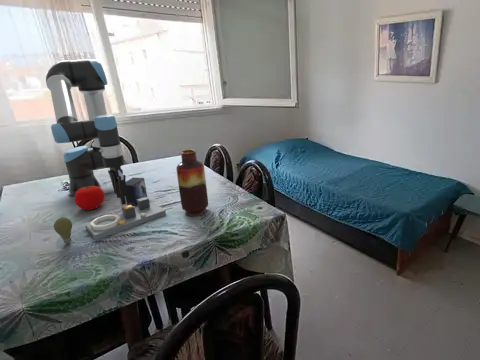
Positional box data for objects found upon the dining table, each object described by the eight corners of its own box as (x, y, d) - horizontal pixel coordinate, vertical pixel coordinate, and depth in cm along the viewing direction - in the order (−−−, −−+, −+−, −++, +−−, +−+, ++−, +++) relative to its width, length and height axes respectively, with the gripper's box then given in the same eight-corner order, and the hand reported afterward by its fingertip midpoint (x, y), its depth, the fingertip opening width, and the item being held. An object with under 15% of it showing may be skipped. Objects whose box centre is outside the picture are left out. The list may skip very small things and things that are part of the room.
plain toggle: (138, 207, 128) (136, 199, 126) (147, 204, 130) (145, 196, 129) (141, 209, 125) (139, 201, 124) (150, 206, 128) (148, 198, 127)
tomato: (72, 212, 133) (66, 190, 130) (93, 201, 144) (88, 180, 141) (91, 214, 130) (85, 192, 126) (111, 203, 140) (106, 182, 137)
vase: (213, 207, 128) (207, 148, 119) (202, 218, 118) (194, 155, 110) (190, 205, 132) (182, 147, 123) (177, 216, 122) (168, 154, 113)
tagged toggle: (123, 216, 120) (121, 207, 118) (133, 213, 122) (131, 204, 121) (126, 219, 118) (124, 209, 116) (136, 215, 120) (134, 206, 118)
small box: (137, 206, 134) (132, 185, 131) (124, 206, 136) (119, 184, 132) (148, 197, 144) (144, 177, 141) (136, 197, 145) (132, 177, 142)
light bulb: (63, 240, 109) (56, 215, 106) (79, 238, 110) (72, 214, 106) (56, 248, 104) (48, 222, 101) (72, 246, 104) (65, 221, 101)
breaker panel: (86, 228, 117) (84, 220, 116) (152, 205, 134) (151, 198, 133) (96, 240, 108) (93, 231, 107) (166, 214, 124) (164, 206, 123)
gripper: (97, 155, 118) (109, 208, 126) (108, 160, 109) (121, 218, 117) (116, 151, 123) (127, 203, 131) (128, 156, 113) (139, 212, 121)
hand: (124, 210), depth 124 cm, fingers closed
